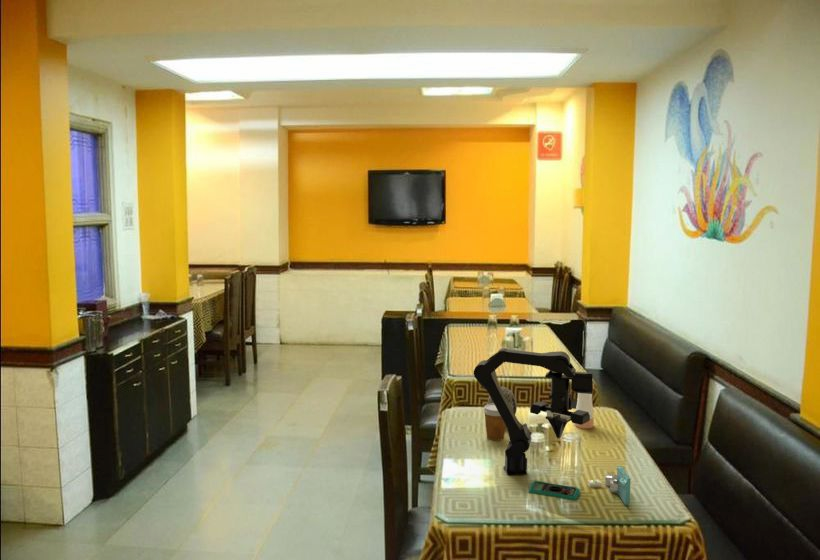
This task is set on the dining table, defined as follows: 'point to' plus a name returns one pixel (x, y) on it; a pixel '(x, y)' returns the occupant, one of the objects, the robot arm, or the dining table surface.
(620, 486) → the light blue tilted panel
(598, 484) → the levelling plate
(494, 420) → the disposable coffee cup
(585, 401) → the pepper shaker
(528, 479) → the dining table surface
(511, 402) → the decorative egg
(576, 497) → the digital multimeter
